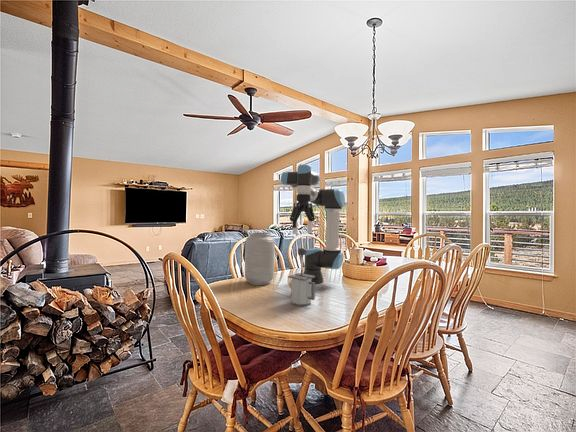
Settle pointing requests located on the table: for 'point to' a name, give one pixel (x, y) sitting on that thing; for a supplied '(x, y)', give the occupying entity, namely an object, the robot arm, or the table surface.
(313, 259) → the robot arm
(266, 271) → the vase
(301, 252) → the plunger
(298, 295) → the grey french press
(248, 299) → the table surface
